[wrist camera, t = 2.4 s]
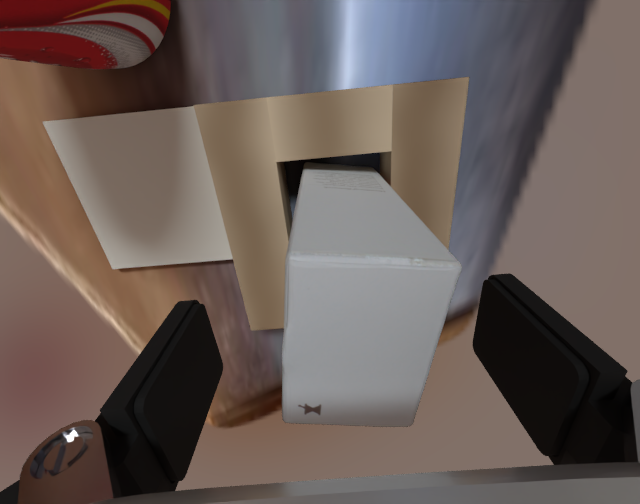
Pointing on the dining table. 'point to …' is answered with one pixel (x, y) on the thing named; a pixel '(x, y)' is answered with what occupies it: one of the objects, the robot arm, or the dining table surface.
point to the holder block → (319, 142)
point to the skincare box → (360, 301)
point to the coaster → (144, 186)
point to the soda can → (82, 31)
